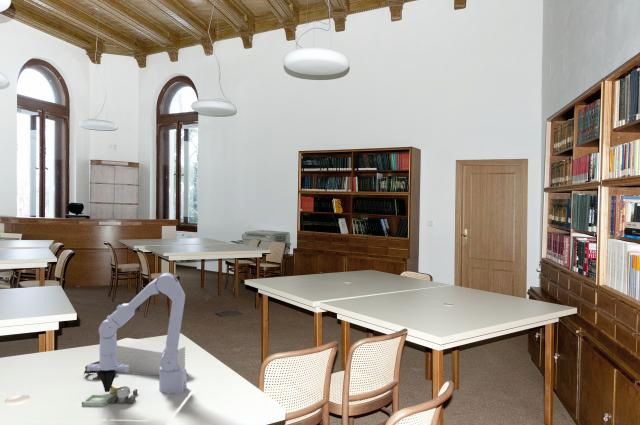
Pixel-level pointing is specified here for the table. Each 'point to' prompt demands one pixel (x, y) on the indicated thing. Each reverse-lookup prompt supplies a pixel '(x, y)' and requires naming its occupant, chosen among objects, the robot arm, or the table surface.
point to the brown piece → (93, 371)
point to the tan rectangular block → (114, 390)
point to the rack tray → (97, 400)
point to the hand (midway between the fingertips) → (107, 390)
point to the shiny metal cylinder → (122, 395)
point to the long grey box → (144, 356)
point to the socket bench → (129, 400)
